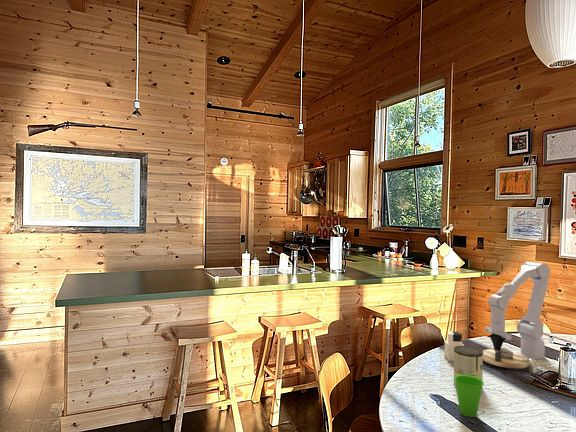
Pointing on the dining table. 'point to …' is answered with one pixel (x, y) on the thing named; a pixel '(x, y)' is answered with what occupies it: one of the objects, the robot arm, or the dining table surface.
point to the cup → (468, 394)
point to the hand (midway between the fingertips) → (497, 351)
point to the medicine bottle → (452, 344)
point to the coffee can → (468, 361)
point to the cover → (505, 353)
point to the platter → (495, 359)
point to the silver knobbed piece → (531, 365)
